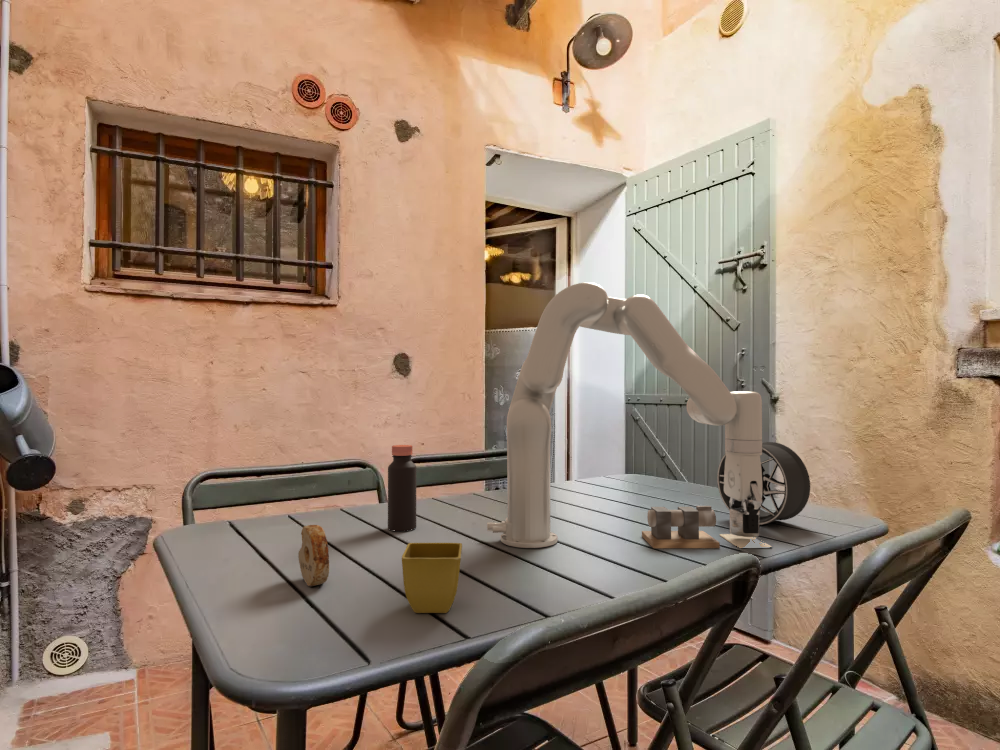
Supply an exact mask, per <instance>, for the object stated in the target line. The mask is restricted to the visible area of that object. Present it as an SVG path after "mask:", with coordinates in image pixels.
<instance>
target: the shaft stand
mask: <svg viewBox="0 0 1000 750" xmlns="http://www.w3.org/2000/svg"><path fill="white" fill-rule="evenodd" d="M695 507H696V508H694V507H692V506H677V509H668V508H666V507H665V506H650V509H648V511H647V523H648V526H649V527H650V530H642V531H641V537H642V538H643V539H644V540H645V541H646V542H647V544H649V545H650V546H651V547H652V548H653V549H720V547H721V545H720V543H721V542H720V541H718V540H717V539H715V538H714V537H712V536H711V535H710V534H708V533H707V532H705V531H704V530H700V527H706V528H709V527H713V528H714V527H715V526H716V525H717V515H716V513H715V510H713V509H712V506H711V505H696V506H695ZM672 527H673V528H675V527H676V528H677V530H672Z"/></svg>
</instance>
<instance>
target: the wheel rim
mask: <svg viewBox="0 0 1000 750" xmlns="http://www.w3.org/2000/svg"><path fill="white" fill-rule="evenodd" d="M724 453H725V452H724ZM762 454H765V455H766V456H767V457H769V458H768V459H766V460H763V461H761V470H762V504H761V506H760V509H759V526H760V525H761V526H762V525H767V524H770V523H774V522H775V521H785V520H790V519H792V518H795V517H796V516H798V515H799V514H800V513H801V512H802V511H803V510H804V509H805V507H806V506H807V504H808V501H809V499H810V494H811V479H810V475H809V472H808V471H809V470H808V469H807V467H806V465H805V463H804V461H803V459H802V458H801V457H800V456H799V455H798V454H797V453H796V452H795V451H794V450H793V449H791V448H790V447H789V446H787V445H785V444H782V443H779V442H776V441H774V442H773V441H766V442H765V441H764V442H762ZM725 459H726V453H725V454H724V455H723V456H722V458H721V460H720V462H719V465H718V468H717V474H716V475H717V476H716V477H717V478H716V480H717V488H718V492H719V496H720V497H721V500H722V502H723V503H724V505H725V507H726V508H727V510H728V511H729V512H730V508H732V507H730V505H729V503H730V499H729V496H727V495H726V494H725V493H724V470H725ZM771 461H774V462H775V464H774V467H773V469H772V470H771V474H769V473H765V472H766V470H765V467H764V466H763V464H765V463H770V462H771ZM777 469H780V472H781V474H782V477H783V482H782V481H779V480H777V479H775V478H774V476H775V473H776V471H777ZM764 473H765V474H764ZM771 483H772V484H774V485H776V486H781V487H784V490H776V489H775V490H771V486H770V485H771ZM774 495H783V499H782V502H781V504H780V506H778V504H777V501H776V500H775V497H774ZM766 497H770V499H771V501H772V504H773V506H774V508H775V511H774V512H773V511H772V510H770V509H769V508H767V506H764V505H763V504H764V502H765V501H766ZM746 500H753V499H751V498H747V499H746ZM750 504H752V503H748V508H749V506H750ZM741 508H744V506H743V507H741ZM762 509H763V510H762Z"/></svg>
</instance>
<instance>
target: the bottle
mask: <svg viewBox="0 0 1000 750" xmlns="http://www.w3.org/2000/svg"><path fill="white" fill-rule="evenodd" d="M391 455H392V456H391V457H392V458H393V459H392V462H391V463H390V464H389V465H388V466H387V529H388V530H389V529H390V530H389V531H391V530H395V531H394V532H396V531H405V532H408V531H407V530H411V529H414V528H415V529H417V466H416V464H415V463H414V462H413V461H412V457H413V445H412V444H395V445H392V446H391ZM415 529H414V530H415ZM411 531H412V530H411Z"/></svg>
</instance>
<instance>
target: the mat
mask: <svg viewBox="0 0 1000 750" xmlns="http://www.w3.org/2000/svg"><path fill="white" fill-rule="evenodd" d="M719 536H720V537H721V538H723V539H724V540H726V541H727V542H729V543H730V544H731V545H733V546H735V547H736V546H737V548H738V547H739V548H743V547H745V546H746V545H747V544H748V543H749V542H750V539H752V541H753V540H755V539H756V538H757V536H756V537H754V538H753V537H743V536H737V535H733V534H731V533H721V534H720V533H719ZM753 542H754V541H753ZM754 543H755V542H754ZM760 543H762V542H760ZM760 543H759V544H760ZM764 544H765V545H764ZM760 546H761V547H773V546H772V545H770V544H768V543H766V542H765V543H762V544H760ZM739 548H738V549H739Z"/></svg>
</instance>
